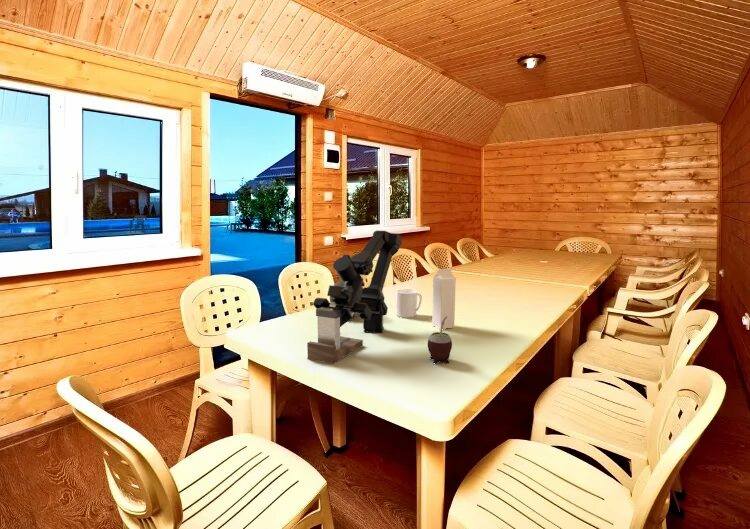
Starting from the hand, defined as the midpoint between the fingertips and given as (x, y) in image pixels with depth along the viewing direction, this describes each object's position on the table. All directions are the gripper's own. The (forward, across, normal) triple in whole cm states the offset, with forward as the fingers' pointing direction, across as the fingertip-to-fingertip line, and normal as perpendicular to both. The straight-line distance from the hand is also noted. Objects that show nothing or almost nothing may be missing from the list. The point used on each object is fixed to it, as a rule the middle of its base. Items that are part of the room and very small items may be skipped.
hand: (332, 331), depth 132 cm
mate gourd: (-1, +31, +12) cm, 34 cm away
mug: (-32, +4, +42) cm, 53 cm away
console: (+3, 0, +7) cm, 8 cm away
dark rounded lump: (-25, -19, +35) cm, 47 cm away
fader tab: (+5, 0, +2) cm, 5 cm away
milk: (-26, +21, +36) cm, 49 cm away
